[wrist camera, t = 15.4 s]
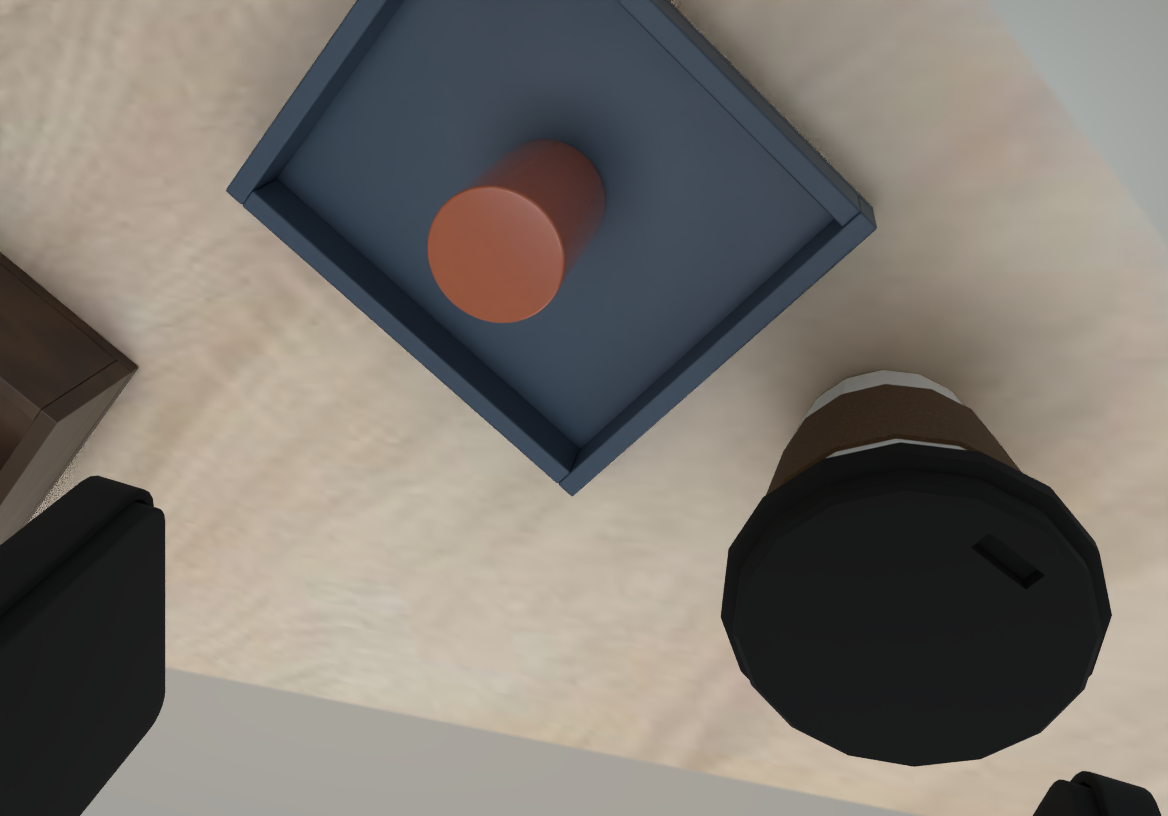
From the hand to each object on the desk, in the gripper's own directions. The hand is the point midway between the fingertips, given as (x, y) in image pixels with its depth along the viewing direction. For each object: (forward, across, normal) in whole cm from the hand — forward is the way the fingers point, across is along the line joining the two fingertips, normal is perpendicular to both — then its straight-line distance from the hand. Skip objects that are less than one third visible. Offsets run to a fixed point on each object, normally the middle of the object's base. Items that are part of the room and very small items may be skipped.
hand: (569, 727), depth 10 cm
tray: (+28, +6, +3) cm, 29 cm away
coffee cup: (+28, -8, +10) cm, 31 cm away
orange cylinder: (+28, +6, +3) cm, 29 cm away
